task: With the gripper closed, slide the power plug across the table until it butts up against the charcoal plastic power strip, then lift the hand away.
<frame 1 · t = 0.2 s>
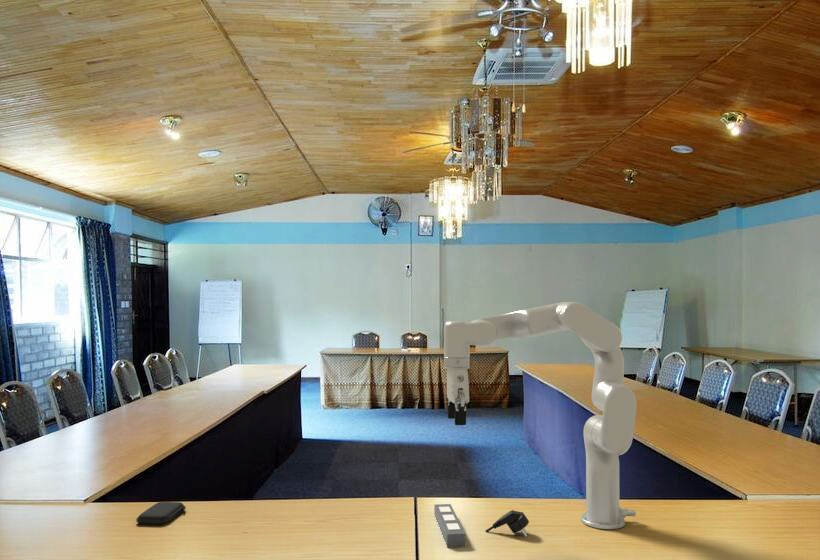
hand: (456, 421, 181), 31 cm above the table, tool pointing down, fingers open, 9 cm apart
carrying case or bag: (162, 519, 188), on the table
power strip: (448, 530, 178), on the table
power plug: (507, 534, 176), on the table
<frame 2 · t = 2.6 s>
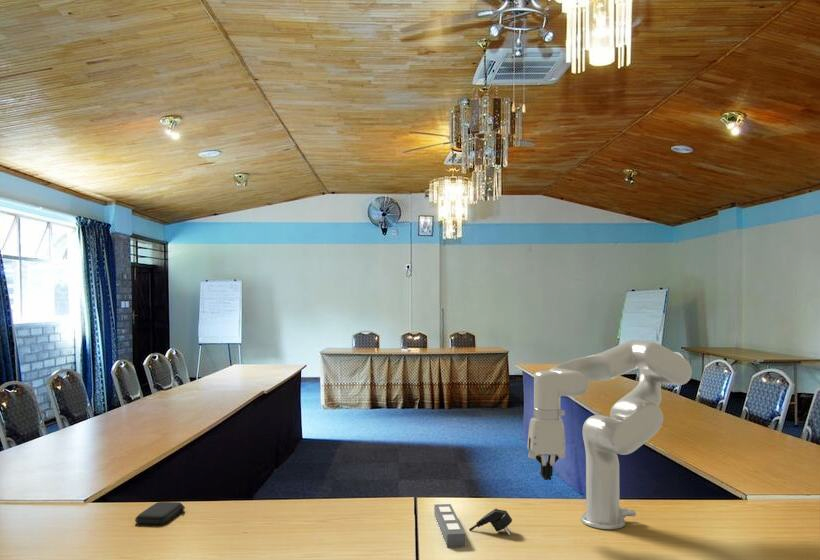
hand: (546, 478, 177), 15 cm above the table, tool pointing down, fingers closed
power plug: (490, 533, 177), on the table
everything else where it was.
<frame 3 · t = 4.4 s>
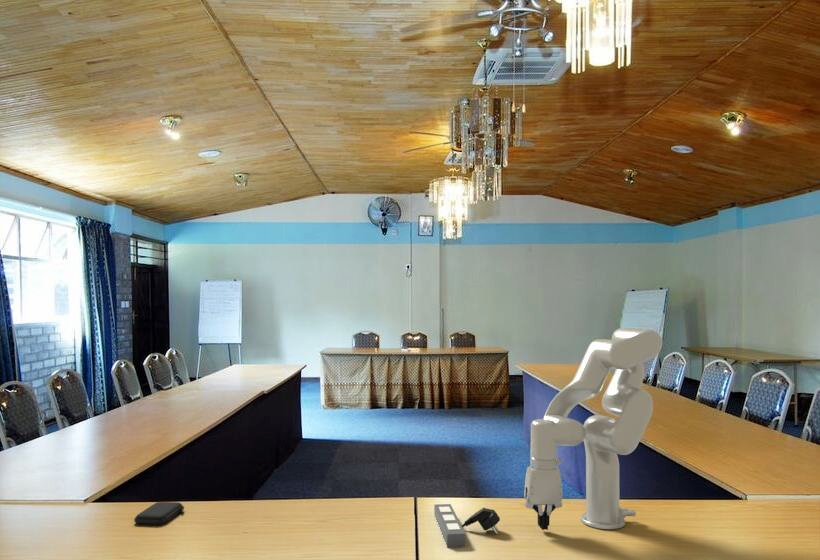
hand: (543, 528, 176), 1 cm above the table, tool pointing down, fingers closed
power plug: (478, 532, 177), on the table
everything else where it was.
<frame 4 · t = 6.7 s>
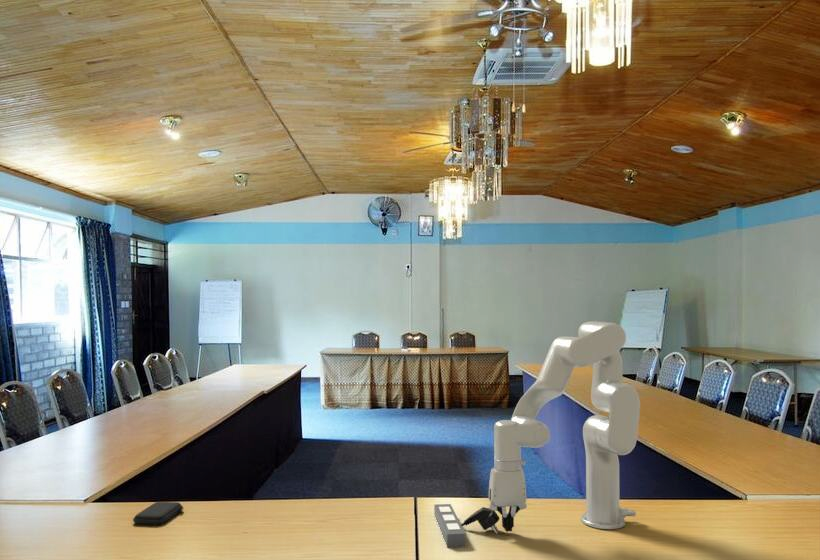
hand: (507, 529, 175), 1 cm above the table, tool pointing down, fingers closed
power plug: (478, 531, 178), on the table, touching gripper, power strip
everything else where it was.
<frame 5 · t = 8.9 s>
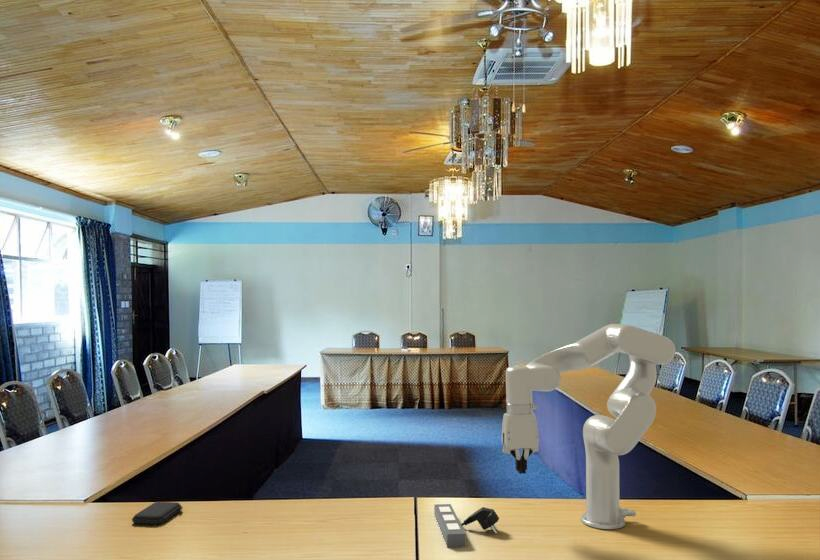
hand: (521, 472, 179), 16 cm above the table, tool pointing down, fingers closed
power plug: (477, 531, 178), on the table
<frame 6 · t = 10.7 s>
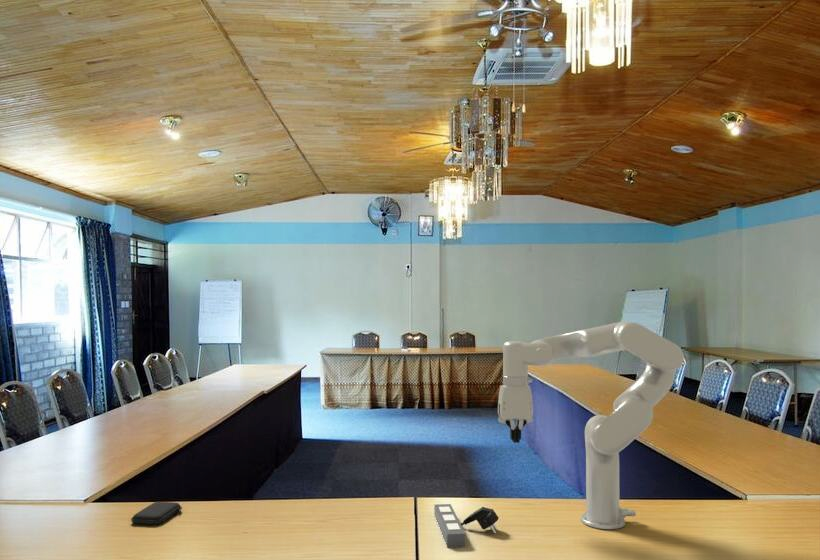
hand: (515, 441, 189), 23 cm above the table, tool pointing down, fingers closed
at the end: power plug inside the target area (3.6 cm from its centre), on the table; power plug moved 9.5 cm from its start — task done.
